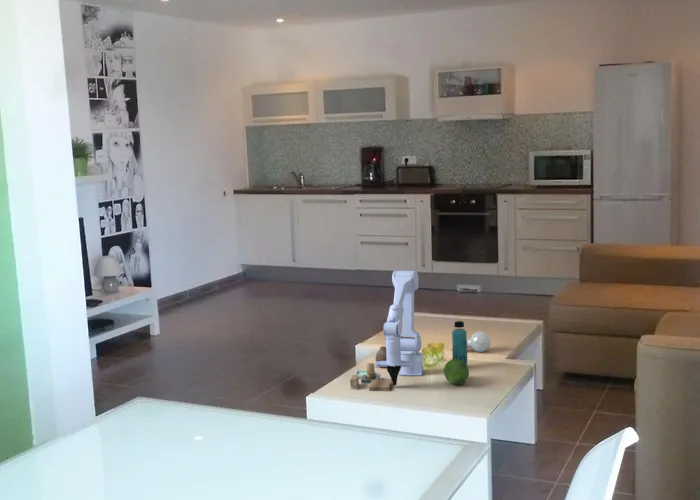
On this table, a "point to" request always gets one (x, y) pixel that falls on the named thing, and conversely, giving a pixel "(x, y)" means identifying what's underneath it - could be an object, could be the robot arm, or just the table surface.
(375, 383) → the board
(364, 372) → the tray
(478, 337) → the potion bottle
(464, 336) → the beverage bottle
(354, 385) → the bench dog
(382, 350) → the vase
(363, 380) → the collar
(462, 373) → the fruit
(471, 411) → the table surface
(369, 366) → the dowel
